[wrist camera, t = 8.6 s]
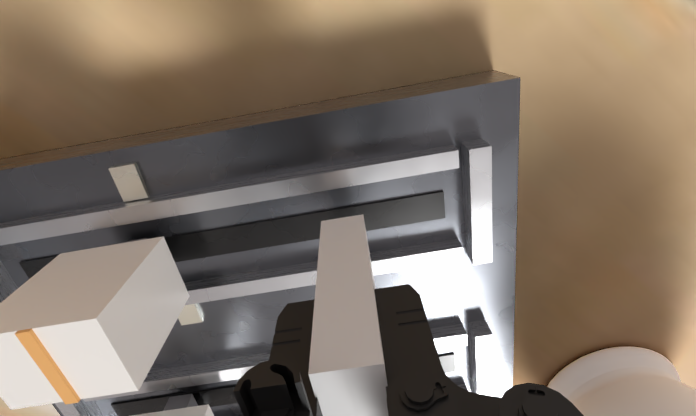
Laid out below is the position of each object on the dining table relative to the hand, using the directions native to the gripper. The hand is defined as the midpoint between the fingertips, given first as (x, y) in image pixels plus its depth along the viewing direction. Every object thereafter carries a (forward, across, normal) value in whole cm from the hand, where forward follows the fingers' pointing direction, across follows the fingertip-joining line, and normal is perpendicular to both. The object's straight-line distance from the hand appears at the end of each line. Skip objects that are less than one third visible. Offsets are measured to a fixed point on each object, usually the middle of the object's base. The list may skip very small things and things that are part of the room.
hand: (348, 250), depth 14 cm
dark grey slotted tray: (+5, -5, -4) cm, 8 cm away
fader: (+2, -9, 0) cm, 9 cm away
